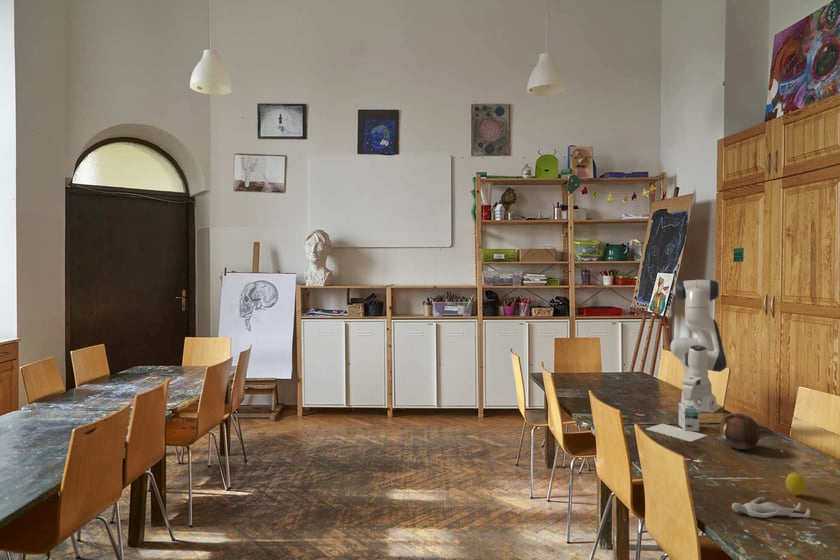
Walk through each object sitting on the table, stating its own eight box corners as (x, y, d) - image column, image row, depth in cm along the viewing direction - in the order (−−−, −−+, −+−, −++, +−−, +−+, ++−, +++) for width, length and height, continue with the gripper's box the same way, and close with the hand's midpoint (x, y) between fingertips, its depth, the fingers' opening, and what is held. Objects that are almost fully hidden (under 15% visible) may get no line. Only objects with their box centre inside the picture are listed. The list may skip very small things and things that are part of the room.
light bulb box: (699, 431, 242) (700, 409, 242) (684, 430, 243) (684, 408, 243) (692, 425, 252) (692, 403, 252) (677, 424, 254) (678, 402, 254)
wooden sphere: (754, 444, 225) (754, 410, 225) (764, 456, 211) (765, 420, 210) (715, 440, 230) (715, 407, 230) (723, 452, 216) (723, 417, 215)
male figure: (815, 511, 156) (741, 509, 158) (815, 523, 156) (740, 521, 158) (793, 496, 166) (723, 495, 168) (793, 508, 166) (723, 506, 168)
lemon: (781, 492, 177) (781, 469, 177) (796, 491, 178) (796, 469, 177) (794, 499, 172) (794, 476, 171) (809, 498, 172) (810, 475, 172)
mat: (662, 424, 255) (662, 423, 255) (707, 436, 236) (707, 435, 236) (645, 429, 247) (645, 428, 247) (691, 441, 229) (690, 441, 229)
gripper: (702, 375, 260) (702, 402, 261) (680, 380, 249) (680, 408, 249) (715, 377, 255) (715, 405, 255) (693, 382, 244) (693, 411, 244)
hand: (697, 406), depth 252 cm, fingers closed
